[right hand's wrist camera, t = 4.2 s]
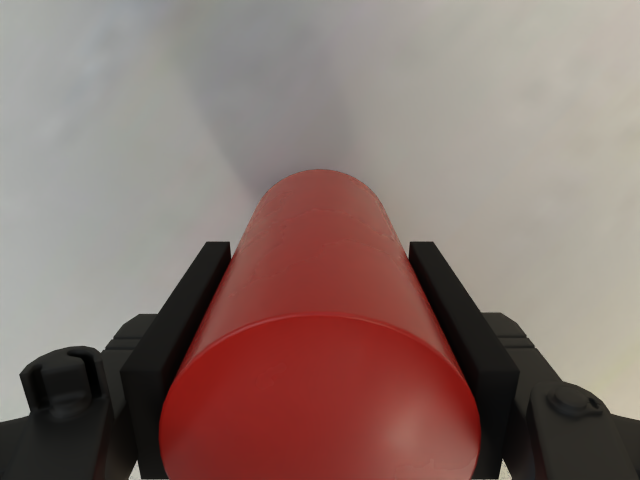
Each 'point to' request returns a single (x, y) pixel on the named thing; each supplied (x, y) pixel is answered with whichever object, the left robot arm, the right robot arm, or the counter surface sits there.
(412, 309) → the can
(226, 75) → the counter surface
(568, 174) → the counter surface
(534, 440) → the right robot arm
